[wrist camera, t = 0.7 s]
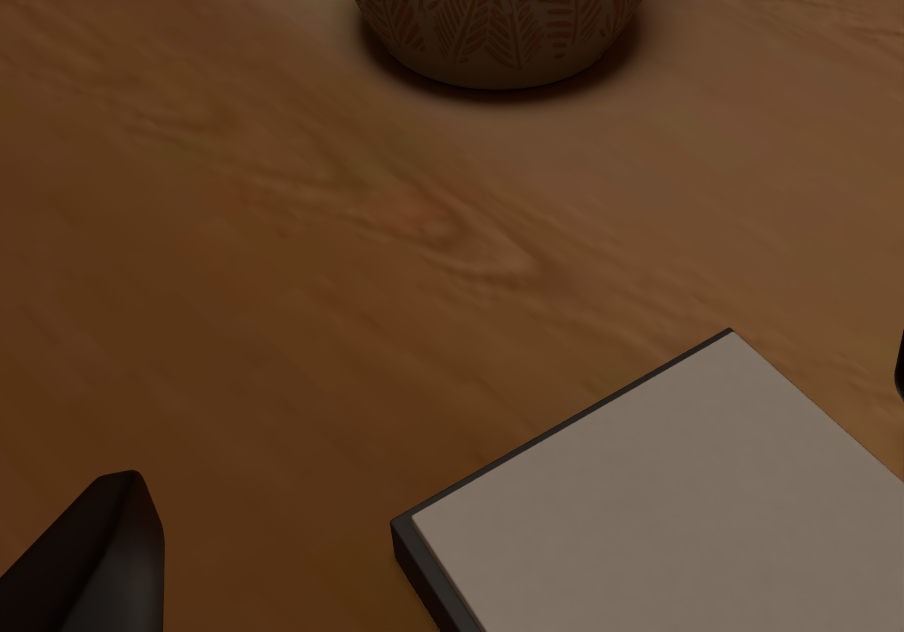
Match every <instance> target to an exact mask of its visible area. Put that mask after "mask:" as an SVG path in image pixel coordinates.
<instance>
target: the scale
mask: <svg viewBox="0 0 904 632" xmlns="http://www.w3.org/2000/svg"><path fill="white" fill-rule="evenodd" d="M390 526H391V533H392V539H393V546H394V552H395V558H396V559H397V561H398V562H399V564H400V566H401V567H402V569H403V571H404V572H405V574H406V575H407V577H408V579H409V580H410V582H411V583H412V585H413V587H414V588H415V590H416V592H417V593H418V595H419V596H420V598H421V600H422V601H423V603H424V604H425V606H426V608H427V609H428V611H429V613H430V614H431V616H432V617H433V619H434V621H435V622H436V624H437V625H438V627H439V629H440V630H441V632H904V482H903V481H902V480H901V479H899V478H898V477H897V476H896V475H895V474H894V473H893V472H892V471H890V470H889V469H888V468H887V467H886V466H885V465H884V464H883V463H882V462H880V461H879V460H878V459H877V458H876V457H875V456H874V455H873V454H871V453H870V452H869V451H868V450H867V449H866V448H865V447H864V446H862V445H861V444H860V443H859V442H858V441H857V440H856V439H855V438H853V437H852V436H851V435H850V434H849V433H848V432H847V431H846V430H844V429H843V428H842V427H841V426H840V425H839V424H838V423H837V422H835V421H834V420H833V419H832V418H831V417H830V416H829V415H828V414H826V413H825V412H824V411H823V410H822V409H821V408H820V407H819V406H817V405H816V404H815V403H814V402H813V401H812V400H811V399H810V398H809V397H807V396H806V395H805V394H804V393H803V392H802V391H801V390H800V389H798V388H797V387H796V386H795V385H794V384H793V383H792V382H791V381H789V380H788V379H787V378H786V377H785V376H784V375H783V374H782V373H780V372H779V371H778V370H777V369H776V368H775V367H774V366H773V365H771V364H770V363H769V362H768V361H767V360H766V359H765V358H764V357H762V356H761V355H760V354H759V353H758V352H757V351H756V350H755V349H753V348H752V347H751V346H750V345H749V344H748V343H747V342H746V341H744V340H743V339H742V338H741V337H740V336H739V335H738V334H737V333H736V332H734V331H733V330H732V329H731V328H727V329H725V330H724V331H722V332H720V333H718V334H717V335H715V336H713V337H711V338H710V339H708V340H706V341H704V342H703V343H701V344H699V345H697V346H696V347H694V348H692V349H690V350H689V351H687V352H685V353H683V354H682V355H680V356H678V357H676V358H675V359H673V360H671V361H669V362H668V363H666V364H664V365H662V366H661V367H659V368H657V369H655V370H654V371H652V372H650V373H648V374H647V375H645V376H643V377H641V378H639V379H638V380H636V381H634V382H632V383H631V384H629V385H627V386H625V387H624V388H622V389H620V390H618V391H617V392H615V393H613V394H611V395H610V396H608V397H606V398H604V399H603V400H601V401H599V402H597V403H596V404H594V405H592V406H590V407H589V408H587V409H585V410H583V411H582V412H580V413H578V414H576V415H575V416H573V417H571V418H569V419H568V420H566V421H564V422H562V423H561V424H559V425H557V426H555V427H554V428H552V429H550V430H548V431H547V432H545V433H543V434H541V435H540V436H538V437H536V438H534V439H533V440H531V441H529V442H527V443H525V444H524V445H522V446H520V447H518V448H517V449H515V450H513V451H511V452H510V453H508V454H506V455H504V456H503V457H501V458H499V459H497V460H496V461H494V462H492V463H490V464H489V465H487V466H485V467H483V468H482V469H480V470H478V471H476V472H475V473H473V474H471V475H469V476H468V477H466V478H464V479H462V480H461V481H459V482H457V483H455V484H454V485H452V486H450V487H448V488H447V489H445V490H443V491H441V492H440V493H438V494H436V495H434V496H433V497H431V498H429V499H427V500H426V501H424V502H422V503H420V504H419V505H417V506H415V507H413V508H411V509H410V510H408V511H406V512H404V513H403V514H401V515H399V516H397V517H396V518H394V519H392V520H391V521H390Z"/></svg>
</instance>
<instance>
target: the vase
mask: <svg viewBox="0 0 904 632" xmlns="http://www.w3.org/2000/svg"><path fill="white" fill-rule="evenodd" d="M355 1H356V3H357V5H358V7H359V8H360V10H361V12H362V14H363V15H364V17H365V19H366V20H367V22H368V24H369V25H370V26H371V28H372V29H373V31H374V32H375V34H376V35H377V37H378V38H379V39H380V41H381V42H382V44H383V45H384V47H385V48H386V49H387V51H388V52H389V53H390V54H391V55H392V56H393V57H394V58H395V59H396V60H398V61H399V62H400V63H402V64H403V65H404V66H406V67H407V68H409V69H411V70H413V71H415V72H417V73H418V74H420V75H422V76H425V77H428V78H430V79H433V80H436V81H439V82H443V83H446V84H450V85H454V86H460V87H466V88H473V89H485V90H513V89H522V88H530V87H536V86H541V85H545V84H549V83H553V82H556V81H559V80H562V79H565V78H568V77H570V76H572V75H574V74H576V73H578V72H580V71H583V70H584V69H586V68H587V67H589V66H590V65H592V64H593V63H594V62H596V61H597V60H598V59H599V58H600V57H601V56H602V55H603V54H604V53H605V52H606V51H607V50H608V48H609V47H610V46H611V44H612V43H613V42H614V41H615V39H616V38H617V37H618V36H619V34H620V33H621V32H622V30H623V29H624V28H625V26H626V25H627V24H628V22H629V21H630V19H631V18H632V16H633V15H634V13H635V11H636V10H637V8H638V6H639V5H640V3H641V1H642V0H355Z"/></svg>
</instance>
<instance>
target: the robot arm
mask: <svg viewBox="0 0 904 632" xmlns="http://www.w3.org/2000/svg"><path fill="white" fill-rule="evenodd" d="M894 378H895V385H896V388H897V391H898V393H899V395H900V397H901V398H902V400H903V401H904V330H903V335H902V340H901V345H900V349H899V354H898V359H897V364H896V368H895V374H894ZM164 558H165V541H164V533H163V528H162V524H161V521H160V519H159V516H158V514H157V511H156V508H155V506H154V503H153V501H152V498H151V496H150V493H149V491H148V488H147V486H146V483H145V481H144V479H143V477H142V475H141V474H140V473H139V472H137V471H135V470H128V471H123V472H117V473H112V474H107V475H103V476H100V477H98V478H97V479H95V480H94V481H93V482H92V483H91V484H90V485H89V486H88V487H87V488H86V489H85V490H84V491H83V493H82V494H81V495H80V496H79V497H78V498H77V499H76V500H75V501H74V502H73V503H72V504H71V505H70V506H69V507H68V508H67V509H66V510H65V511H64V512H63V513H62V514H61V515H60V516H59V517H58V518H57V520H56V521H55V522H54V523H53V524H52V525H51V526H50V527H49V528H48V529H47V530H46V531H45V532H44V533H43V534H42V535H41V536H40V537H39V538H38V539H37V540H36V541H35V542H34V543H33V544H32V545H31V546H30V548H29V549H28V550H27V551H26V552H25V553H24V554H23V555H22V556H21V557H20V558H19V559H18V560H17V561H16V562H15V563H14V564H13V565H12V566H11V567H10V568H9V569H8V570H7V571H6V572H5V573H4V575H3V576H2V577H1V578H0V632H163V605H164Z"/></svg>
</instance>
